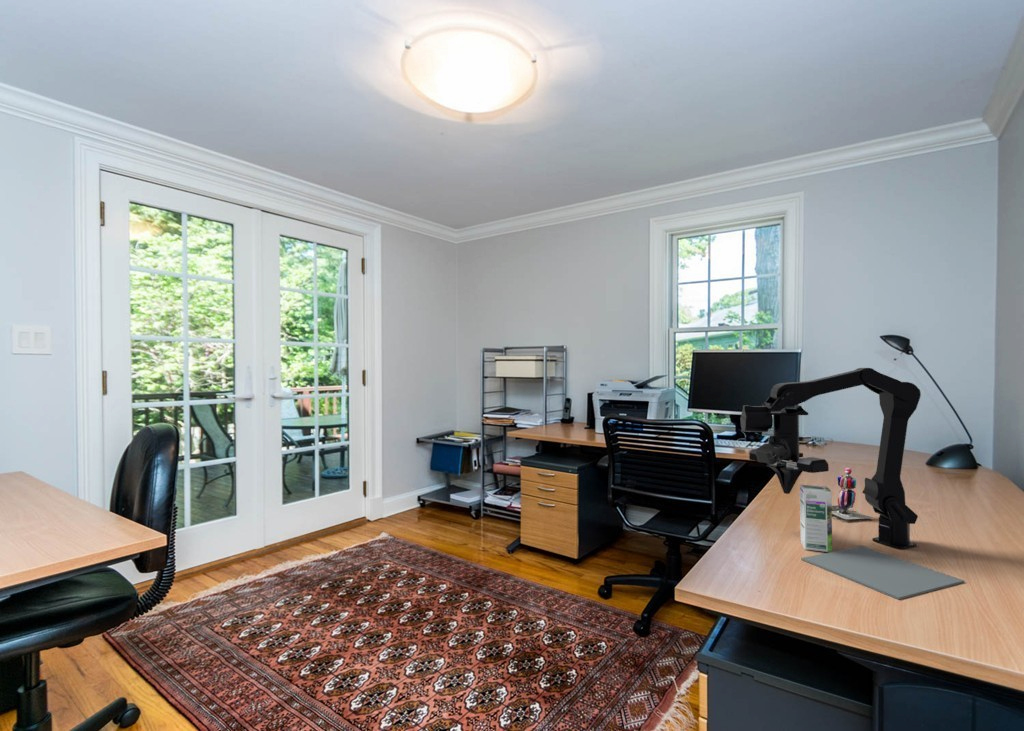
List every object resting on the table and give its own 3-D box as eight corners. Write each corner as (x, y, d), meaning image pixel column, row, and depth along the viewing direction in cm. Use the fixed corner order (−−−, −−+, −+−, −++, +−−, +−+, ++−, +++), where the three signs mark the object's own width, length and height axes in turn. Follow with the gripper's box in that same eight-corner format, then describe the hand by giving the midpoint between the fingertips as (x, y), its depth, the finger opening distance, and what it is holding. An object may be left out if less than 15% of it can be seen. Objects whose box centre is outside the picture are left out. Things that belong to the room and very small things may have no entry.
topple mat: (862, 547, 116) (862, 545, 116) (964, 582, 97) (964, 580, 97) (801, 559, 109) (801, 558, 109) (898, 599, 90) (898, 597, 90)
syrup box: (804, 550, 114) (803, 488, 114) (800, 541, 120) (799, 483, 120) (832, 553, 112) (832, 490, 112) (827, 544, 118) (826, 485, 118)
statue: (872, 524, 136) (879, 473, 135) (844, 526, 134) (851, 474, 133) (838, 508, 147) (844, 460, 145) (812, 510, 145) (818, 461, 143)
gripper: (733, 429, 130) (733, 488, 129) (795, 439, 112) (796, 506, 112) (764, 427, 133) (765, 484, 133) (829, 436, 116) (830, 501, 116)
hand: (786, 493), depth 124 cm, fingers closed
